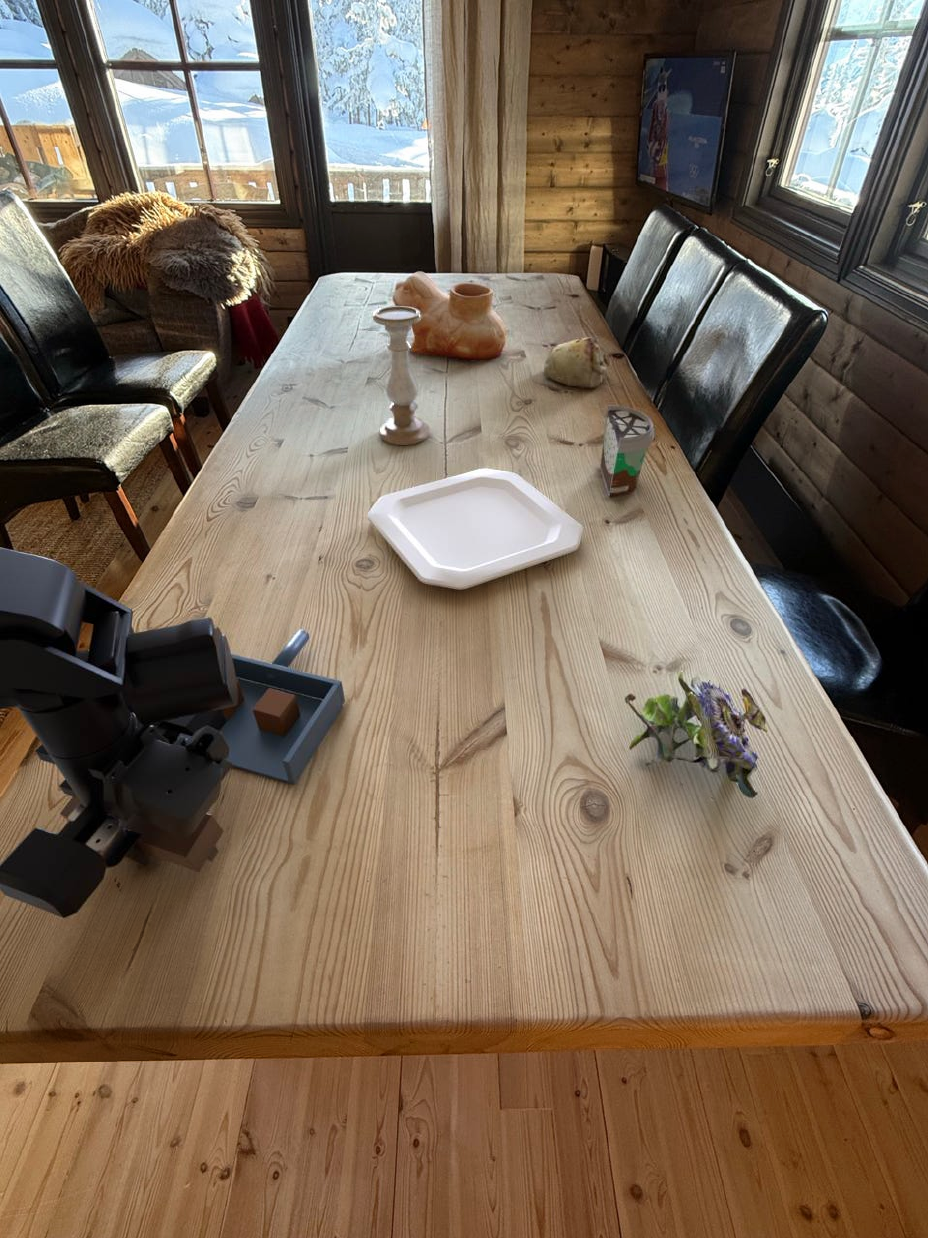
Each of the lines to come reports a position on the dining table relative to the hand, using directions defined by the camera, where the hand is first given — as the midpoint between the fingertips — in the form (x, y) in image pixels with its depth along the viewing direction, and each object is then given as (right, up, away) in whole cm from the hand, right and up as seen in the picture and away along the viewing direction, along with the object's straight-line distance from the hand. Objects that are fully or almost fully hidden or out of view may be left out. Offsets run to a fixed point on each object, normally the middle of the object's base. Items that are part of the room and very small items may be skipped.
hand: (157, 845), depth 56 cm
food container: (+51, +41, +47) cm, 81 cm away
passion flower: (+47, +6, +6) cm, 48 cm away
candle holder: (+16, +52, +60) cm, 81 cm away
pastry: (+49, +69, +80) cm, 117 cm away
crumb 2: (+7, +9, +8) cm, 14 cm away
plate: (+27, +31, +36) cm, 55 cm away
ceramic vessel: (+23, +80, +93) cm, 125 cm away
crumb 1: (+1, +11, +9) cm, 14 cm away
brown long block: (0, +1, -1) cm, 1 cm away
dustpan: (+6, +11, +13) cm, 18 cm away
